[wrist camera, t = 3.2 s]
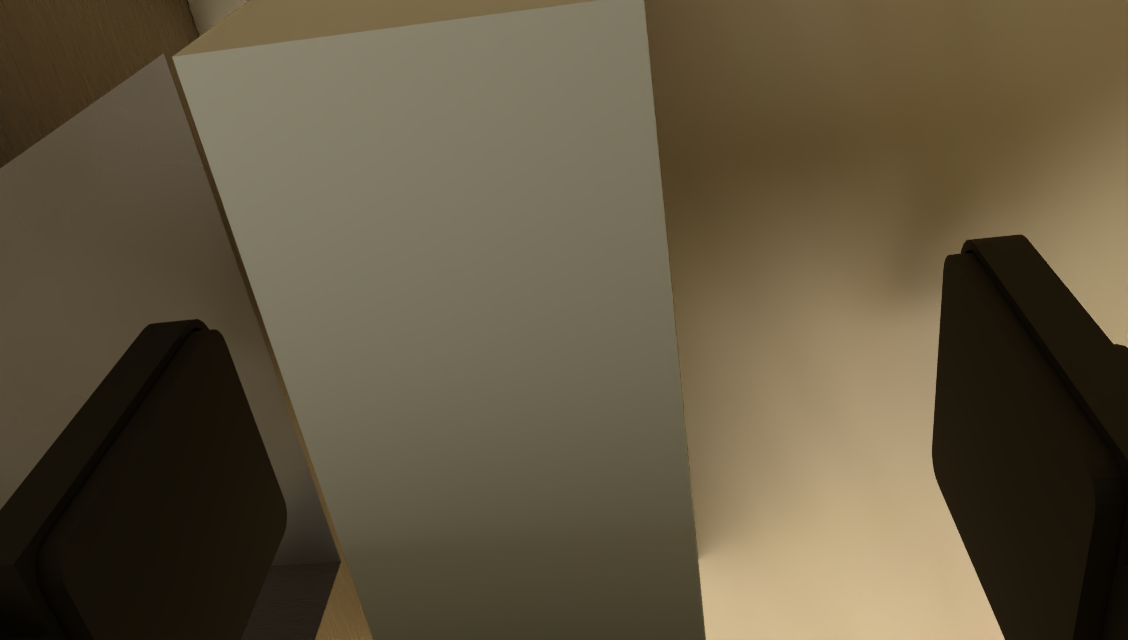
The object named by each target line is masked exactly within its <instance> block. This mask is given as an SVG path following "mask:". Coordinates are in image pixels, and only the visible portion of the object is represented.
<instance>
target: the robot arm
mask: <svg viewBox="0 0 1128 640" xmlns="http://www.w3.org/2000/svg"><path fill="white" fill-rule="evenodd" d="M932 459H933V467H934V472H935V476H936V480H937V482H938V485H939V487H940V490H941V492H942V494H943V497H944V499H945V501H946V504H947V506H948V508H949V510H950V513H951V515H952V517H953V520H954V522H955V524H956V527H957V529H958V531H959V534H960V536H961V538H962V541H963V543H964V545H965V548H966V550H967V552H968V555H969V557H970V559H971V561H972V564H973V566H974V568H975V571H976V573H977V575H978V578H979V580H980V582H981V585H982V587H983V589H984V592H985V594H986V596H987V599H988V601H989V603H990V605H991V608H992V610H993V612H994V615H995V617H996V619H997V622H998V624H999V626H1000V629H1001V631H1002V633H1003V636H1004V638H1005V640H1128V348H1127V347H1126V346H1123V345H1118V344H1113V343H1112V342H1111V341H1110V339H1109V338H1108V337H1107V336H1106V335H1105V333H1104V332H1103V331H1102V330H1101V328H1100V327H1099V326H1098V325H1097V324H1096V322H1095V321H1094V320H1093V319H1092V317H1091V316H1090V315H1089V314H1088V313H1087V311H1086V310H1085V309H1084V308H1083V306H1082V305H1081V304H1080V303H1079V302H1078V300H1077V299H1076V298H1075V297H1074V295H1073V294H1072V293H1071V292H1070V291H1069V289H1068V288H1067V287H1066V286H1065V284H1064V283H1063V282H1062V281H1061V280H1060V278H1059V277H1058V276H1057V275H1056V273H1055V272H1054V271H1053V270H1052V269H1051V267H1050V266H1049V265H1048V264H1047V262H1046V261H1045V260H1044V259H1043V258H1042V256H1041V255H1040V254H1039V253H1038V251H1037V250H1036V249H1035V248H1034V247H1033V245H1032V244H1031V243H1030V242H1029V240H1028V239H1027V238H1026V237H1025V236H1023V235H1011V236H1001V237H992V238H982V239H972V240H966V242H965V243H964V244H963V247H962V250H961V254H954V255H948V256H947V257H946V260H945V263H944V270H943V286H942V301H941V317H940V333H939V348H938V364H937V379H936V395H935V411H934V426H933V442H932ZM286 525H287V508H286V503H285V500H284V497H283V494H282V491H281V489H280V486H279V483H278V481H277V478H276V475H275V473H274V470H273V467H272V465H271V462H270V459H269V457H268V454H267V451H266V448H265V446H264V443H263V440H262V438H261V435H260V432H259V430H258V427H257V424H256V422H255V419H254V416H253V414H252V411H251V408H250V406H249V403H248V400H247V397H246V395H245V392H244V389H243V387H242V384H241V381H240V379H239V376H238V373H237V371H236V368H235V365H234V363H233V360H232V357H231V354H230V352H229V349H228V346H227V344H226V341H225V339H224V337H223V335H222V334H221V333H220V332H219V331H218V330H216V329H211V330H209V328H208V327H207V326H206V324H205V323H204V322H203V321H201V320H199V319H191V320H181V321H171V322H161V323H153V324H149V325H147V326H146V327H145V328H144V329H143V330H142V332H141V333H140V334H139V335H138V337H137V338H136V339H135V340H134V342H133V343H132V344H131V345H130V347H129V348H128V349H127V351H126V352H125V353H124V354H123V356H122V357H121V358H120V359H119V361H118V362H117V363H116V364H115V366H114V367H113V368H112V369H111V371H110V372H109V373H108V375H107V376H106V377H105V378H104V380H103V381H102V382H101V383H100V385H99V386H98V387H97V388H96V390H95V391H94V392H93V394H92V395H91V396H90V397H89V399H88V400H87V401H86V402H85V404H84V405H83V406H82V407H81V409H80V410H79V411H78V412H77V414H76V415H75V416H74V418H73V419H72V420H71V421H70V423H69V424H68V425H67V426H66V428H65V429H64V430H63V431H62V433H61V434H60V435H59V436H58V438H57V439H56V440H55V442H54V443H53V444H52V445H51V447H50V448H49V449H48V450H47V452H46V453H45V454H44V455H43V457H42V458H41V459H40V461H39V462H38V463H37V464H36V466H35V467H34V468H33V469H32V471H31V472H30V473H29V474H28V476H27V477H26V478H25V479H24V481H23V482H22V483H21V485H20V486H19V487H18V488H17V490H16V491H15V492H14V493H13V495H12V496H11V497H10V498H9V500H8V501H7V502H6V504H5V505H4V506H3V507H2V509H1V510H0V640H241V638H242V635H243V633H244V630H245V628H246V626H247V623H248V621H249V618H250V616H251V613H252V611H253V609H254V606H255V604H256V601H257V599H258V596H259V594H260V592H261V589H262V587H263V584H264V582H265V579H266V577H267V575H268V572H269V570H270V567H271V565H272V562H273V560H274V558H275V555H276V553H277V550H278V548H279V546H280V543H281V541H282V538H283V536H284V533H285V530H286Z"/></svg>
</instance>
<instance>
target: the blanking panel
mask: <svg viewBox="0 0 1128 640" xmlns="http://www.w3.org/2000/svg"><path fill="white" fill-rule="evenodd" d="M172 59H173V61H174V64H175V67H176V70H177V73H178V76H179V79H180V82H181V85H182V88H183V90H184V93H185V96H186V99H187V102H188V105H189V108H190V111H191V114H192V116H193V119H194V122H195V125H196V128H197V131H198V134H199V137H200V140H201V143H202V145H203V148H204V151H205V154H206V157H207V160H208V163H209V166H210V169H211V171H212V174H213V177H214V180H215V183H216V186H217V189H218V192H219V195H220V198H221V200H222V203H223V206H224V209H225V212H226V215H227V218H228V221H229V224H230V226H231V229H232V232H233V235H234V238H235V241H236V244H237V247H238V250H239V253H240V255H241V258H242V261H243V264H244V267H245V270H246V273H247V276H248V279H249V281H250V284H251V287H252V290H253V293H254V296H255V299H256V302H257V305H258V308H259V310H260V313H261V316H262V319H263V322H264V325H265V328H266V331H267V334H268V336H269V339H270V342H271V345H272V348H273V351H274V354H275V357H276V360H277V363H278V365H279V368H280V371H281V374H282V377H283V380H284V383H285V386H286V389H287V391H288V394H289V397H290V400H291V403H292V406H293V409H294V412H295V415H296V418H297V420H298V423H299V426H300V429H301V432H302V435H303V438H304V441H305V444H306V446H307V449H308V452H309V455H310V458H311V461H312V464H313V467H314V470H315V473H316V475H317V478H318V481H319V484H320V487H321V490H322V493H323V496H324V499H325V501H326V504H327V507H328V510H329V513H330V516H331V519H332V522H333V525H334V528H335V530H336V533H337V536H338V539H339V542H340V545H341V548H342V551H343V554H344V556H345V559H346V562H347V565H348V568H349V571H350V574H351V577H352V580H353V583H354V585H355V588H356V591H357V594H358V597H359V600H360V603H361V606H362V609H363V611H364V614H365V617H366V620H367V623H368V626H369V629H370V632H371V635H372V638H373V640H706V636H705V626H704V616H703V605H702V595H701V584H700V574H699V563H698V553H697V542H696V532H695V521H694V511H693V501H692V490H691V480H690V469H689V459H688V448H687V438H686V428H685V417H684V407H683V396H682V386H681V375H680V365H679V355H678V344H677V334H676V323H675V313H674V303H673V292H672V282H671V271H670V261H669V250H668V240H667V230H666V219H665V209H664V198H663V188H662V177H661V167H660V157H659V146H658V136H657V125H656V115H655V105H654V94H653V84H652V73H651V63H650V52H649V42H648V32H647V21H646V11H645V0H249V1H248V2H247V3H245V4H244V5H243V6H241V7H240V8H238V9H237V10H236V11H234V12H233V13H232V14H230V15H229V16H227V17H226V18H225V19H223V20H222V21H221V22H219V23H218V24H216V25H215V26H214V27H212V28H211V29H210V30H208V31H207V32H205V33H204V34H203V35H201V36H200V37H199V38H197V39H196V40H194V41H193V42H192V43H190V44H189V45H188V46H186V47H185V48H183V49H182V50H181V51H179V52H178V53H177V54H175V55H174V56H172Z"/></svg>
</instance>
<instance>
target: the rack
mask: <svg viewBox="0 0 1128 640" xmlns="http://www.w3.org/2000/svg"><path fill="white" fill-rule="evenodd" d="M197 38H198V35H197V32H196V29H195V26H194V23H193V20H192V17H191V14H190V11H189V8H188V5H187V2H186V0H0V510H1V509H2V507H3V506H4V505H5V504H6V502H7V501H8V500H9V498H10V497H11V496H12V495H13V493H14V492H15V491H16V490H17V488H18V487H19V486H20V485H21V483H22V482H23V481H24V479H25V478H26V477H27V476H28V474H29V473H30V472H31V471H32V469H33V468H34V467H35V466H36V464H37V463H38V462H39V461H40V459H41V458H42V457H43V455H44V454H45V453H46V452H47V450H48V449H49V448H50V447H51V445H52V444H53V443H54V442H55V440H56V439H57V438H58V436H59V435H60V434H61V433H62V431H63V430H64V429H65V428H66V426H67V425H68V424H69V423H70V421H71V420H72V419H73V418H74V416H75V415H76V414H77V412H78V411H79V410H80V409H81V407H82V406H83V405H84V404H85V402H86V401H87V400H88V399H89V397H90V396H91V395H92V394H93V392H94V391H95V390H96V388H97V387H98V386H99V385H100V383H101V382H102V381H103V380H104V378H105V377H106V376H107V375H108V373H109V372H110V371H111V369H112V368H113V367H114V366H115V364H116V363H117V362H118V361H119V359H120V358H121V357H122V356H123V354H124V353H125V352H126V351H127V349H128V348H129V347H130V345H131V344H132V343H133V342H134V340H135V339H136V338H137V337H138V335H139V334H140V333H141V332H142V330H143V329H144V328H145V327H146V326H147V325H149V324H153V323H161V322H171V321H181V320H191V319H199V320H201V321H203V322H204V323H205V324H206V326H207V327H208V328H209V330H211V329H216V330H218V331H219V332H220V333H221V334H222V335H223V337H224V339H225V341H226V344H227V346H228V349H229V352H230V354H231V357H232V360H233V363H234V365H235V368H236V371H237V373H238V376H239V379H240V381H241V384H242V387H243V389H244V392H245V395H246V397H247V400H248V403H249V406H250V408H251V411H252V414H253V416H254V419H255V422H256V424H257V427H258V430H259V432H260V435H261V438H262V440H263V443H264V446H265V448H266V451H267V454H268V457H269V459H270V462H271V465H272V467H273V470H274V473H275V475H276V478H277V481H278V483H279V486H280V489H281V491H282V494H283V497H284V500H285V503H286V508H287V525H286V530H285V533H284V536H283V538H282V541H281V543H280V546H279V548H278V550H277V553H276V555H275V558H274V560H273V562H272V565H271V567H270V570H269V572H268V575H267V577H266V579H265V582H264V584H263V587H262V589H261V592H260V594H259V596H258V599H257V601H256V604H255V606H254V609H253V611H252V613H251V616H250V618H249V621H248V623H247V626H246V628H245V630H244V633H243V635H242V638H241V640H373V638H372V635H371V632H370V629H369V626H368V623H367V620H366V617H365V614H364V611H363V609H362V606H361V603H360V600H359V597H358V594H357V591H356V588H355V585H354V583H353V580H352V577H351V574H350V571H349V568H348V565H347V562H346V559H345V556H344V554H343V551H342V548H341V545H340V542H339V539H338V536H337V533H336V530H335V528H334V525H333V522H332V519H331V516H330V513H329V510H328V507H327V504H326V501H325V499H324V496H323V493H322V490H321V487H320V484H319V481H318V478H317V475H316V473H315V470H314V467H313V464H312V461H311V458H310V455H309V452H308V449H307V446H306V444H305V441H304V438H303V435H302V432H301V429H300V426H299V423H298V420H297V418H296V415H295V412H294V409H293V406H292V403H291V400H290V397H289V394H288V391H287V389H286V386H285V383H284V380H283V377H282V374H281V371H280V368H279V365H278V363H277V360H276V357H275V354H274V351H273V348H272V345H271V342H270V339H269V336H268V334H267V331H266V328H265V325H264V322H263V319H262V316H261V313H260V310H259V308H258V305H257V302H256V299H255V296H254V293H253V290H252V287H251V284H250V281H249V279H248V276H247V273H246V270H245V267H244V264H243V261H242V258H241V255H240V253H239V250H238V247H237V244H236V241H235V238H234V235H233V232H232V229H231V226H230V224H229V221H228V218H227V215H226V212H225V209H224V206H223V203H222V200H221V198H220V195H219V192H218V189H217V186H216V183H215V180H214V177H213V174H212V171H211V169H210V166H209V163H208V160H207V157H206V154H205V151H204V148H203V145H202V143H201V140H200V137H199V134H198V131H197V128H196V125H195V122H194V119H193V116H192V114H191V111H190V108H189V105H188V102H187V99H186V96H185V93H184V90H183V88H182V85H181V82H180V79H179V76H178V73H177V70H176V67H175V64H174V61H173V59H172V56H174V55H175V54H177V53H178V52H179V51H181V50H182V49H183V48H185V47H186V46H188V45H189V44H190V43H192V42H193V41H194V40H196V39H197Z"/></svg>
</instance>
